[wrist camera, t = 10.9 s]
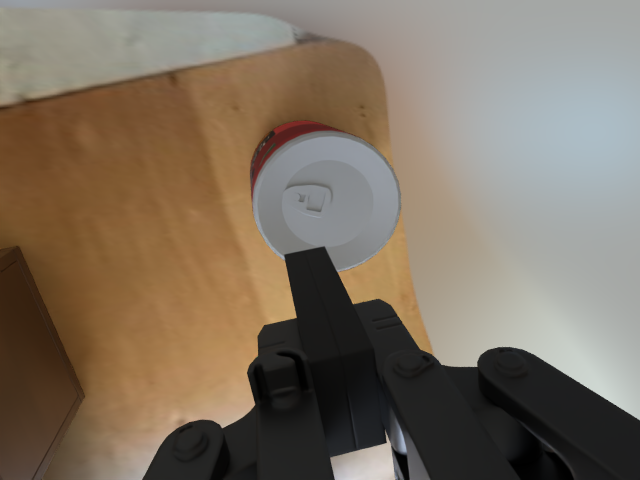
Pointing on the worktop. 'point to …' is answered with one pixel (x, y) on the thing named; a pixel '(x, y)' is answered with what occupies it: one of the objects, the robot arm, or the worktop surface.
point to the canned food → (323, 193)
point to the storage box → (30, 376)
